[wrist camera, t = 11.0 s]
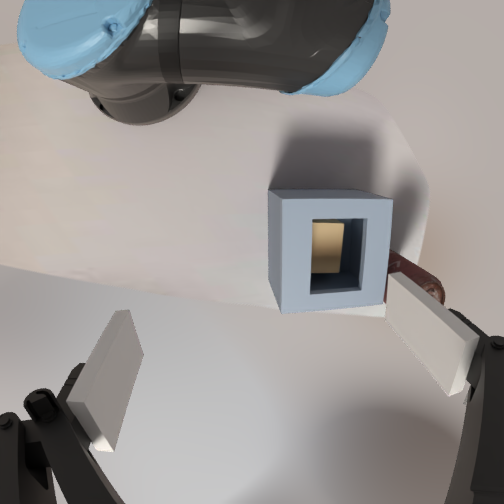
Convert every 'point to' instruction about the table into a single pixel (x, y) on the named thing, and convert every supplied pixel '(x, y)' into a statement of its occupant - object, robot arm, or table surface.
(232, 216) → the table surface
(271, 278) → the coin box
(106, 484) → the robot arm
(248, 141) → the table surface
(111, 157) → the table surface
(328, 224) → the wooden block
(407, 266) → the can
